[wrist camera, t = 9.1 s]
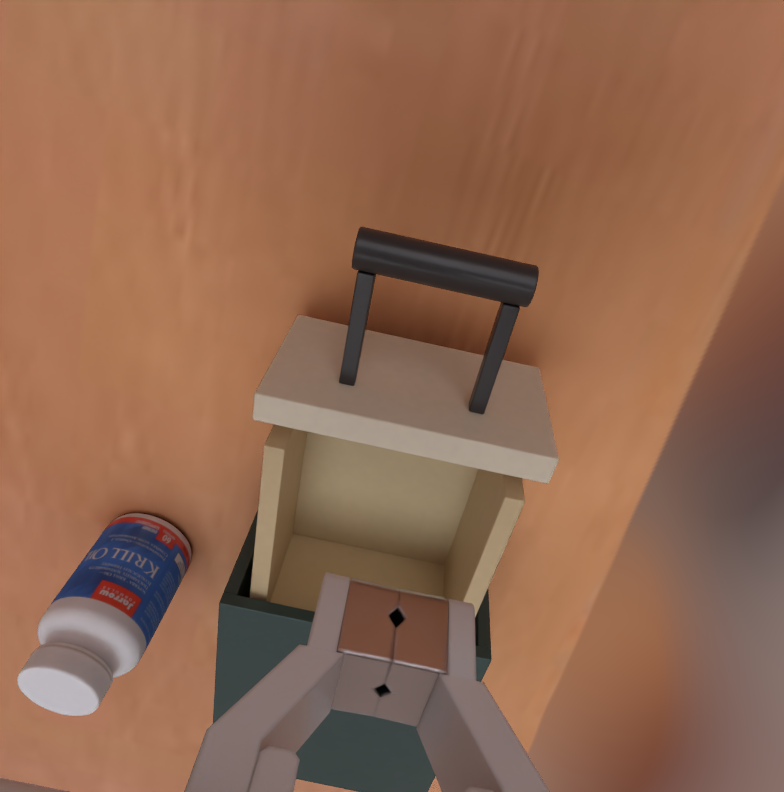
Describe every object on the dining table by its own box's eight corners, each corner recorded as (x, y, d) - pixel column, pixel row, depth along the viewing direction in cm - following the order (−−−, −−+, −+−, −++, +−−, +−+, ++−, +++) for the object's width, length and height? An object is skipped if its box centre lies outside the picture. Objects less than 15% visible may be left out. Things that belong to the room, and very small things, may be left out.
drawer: (313, 178, 23) (266, 229, 18) (588, 240, 24) (627, 310, 18) (272, 525, 34) (235, 625, 28) (463, 565, 34) (463, 673, 28)
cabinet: (269, 480, 33) (219, 602, 26) (486, 526, 33) (491, 660, 26) (253, 635, 41) (210, 761, 34) (428, 671, 41) (421, 804, 34)
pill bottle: (191, 517, 35) (108, 670, 27) (196, 578, 38) (123, 733, 30) (99, 503, 35) (-11, 650, 27) (112, 565, 38) (16, 715, 30)
